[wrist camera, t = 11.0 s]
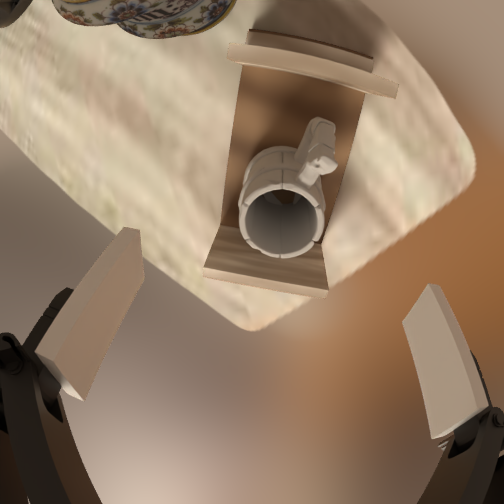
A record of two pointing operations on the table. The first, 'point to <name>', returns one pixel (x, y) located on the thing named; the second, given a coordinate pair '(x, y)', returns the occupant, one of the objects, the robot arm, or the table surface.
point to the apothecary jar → (147, 15)
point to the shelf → (288, 144)
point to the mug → (294, 179)
